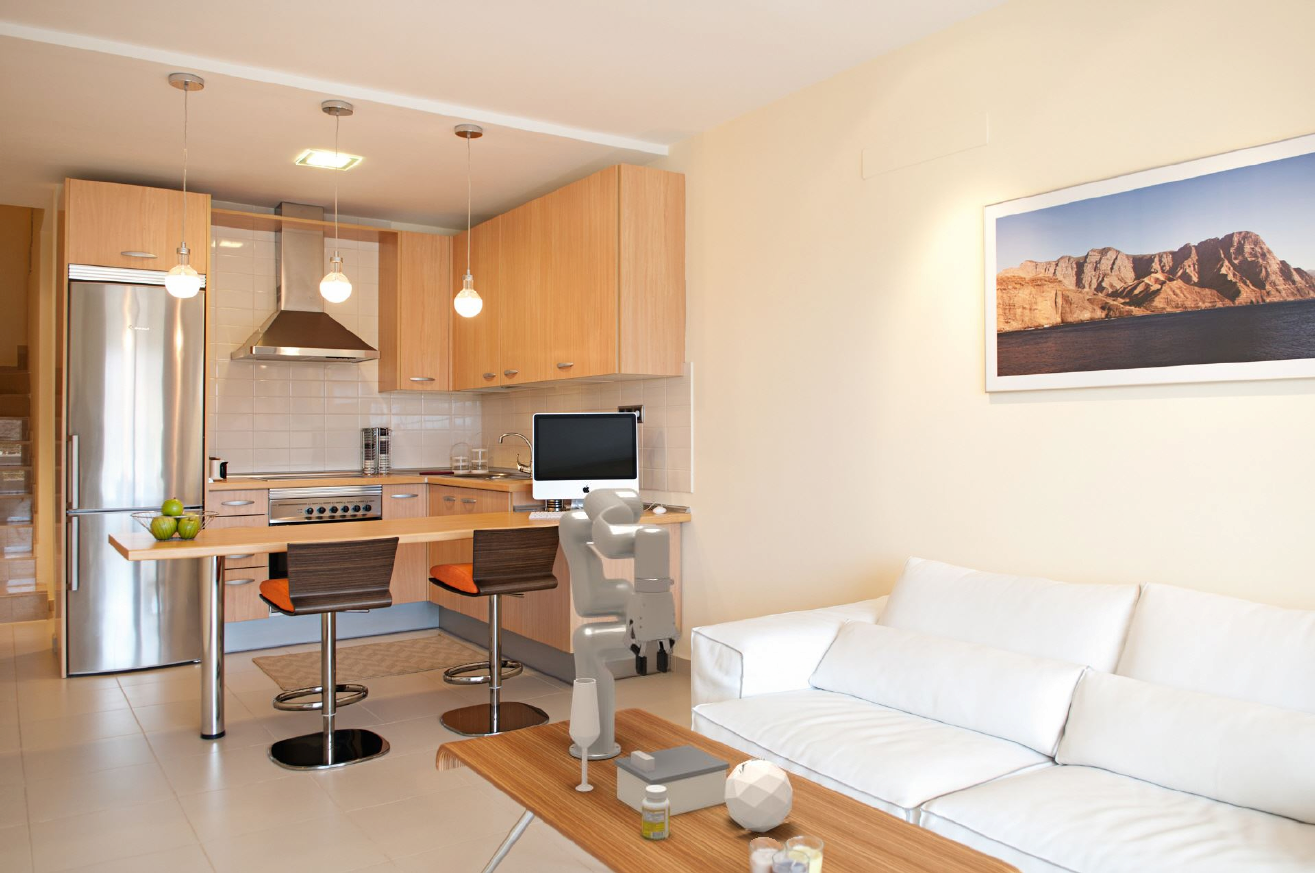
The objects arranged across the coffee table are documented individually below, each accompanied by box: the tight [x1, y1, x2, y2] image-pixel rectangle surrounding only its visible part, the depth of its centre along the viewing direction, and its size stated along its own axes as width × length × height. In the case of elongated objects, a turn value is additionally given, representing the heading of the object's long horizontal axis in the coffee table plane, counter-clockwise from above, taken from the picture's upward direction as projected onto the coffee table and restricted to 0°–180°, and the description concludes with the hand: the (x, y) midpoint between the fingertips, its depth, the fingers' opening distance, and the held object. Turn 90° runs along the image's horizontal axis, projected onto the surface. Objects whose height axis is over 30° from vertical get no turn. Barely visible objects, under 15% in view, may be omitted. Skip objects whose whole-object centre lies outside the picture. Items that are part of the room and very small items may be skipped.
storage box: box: [616, 766, 727, 817], centre depth 194 cm, size 14×18×8 cm
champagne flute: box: [568, 678, 600, 792], centre depth 201 cm, size 7×7×24 cm
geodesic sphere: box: [724, 756, 794, 833], centre depth 182 cm, size 14×14×14 cm
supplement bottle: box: [641, 785, 671, 841], centre depth 177 cm, size 5×5×10 cm
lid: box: [613, 744, 731, 785], centre depth 194 cm, size 15×19×4 cm
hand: (651, 672), depth 195 cm, fingers open, 4 cm apart
